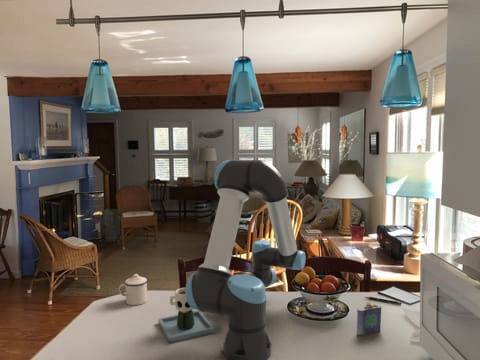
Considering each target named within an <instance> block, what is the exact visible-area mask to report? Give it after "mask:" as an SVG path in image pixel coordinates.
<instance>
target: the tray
mask: <svg viewBox="0 0 480 360" xmlns="http://www.w3.org/2000/svg"><path fill="white" fill-rule="evenodd" d="M193 316H194V323H195V324H194V326H193V327H191V328H187V329H186V326H183V329H182V328H179V327H177V318H178V314H176V315H169V316H164V317H160V318H158V324H159V327H160V329H161V330H162V332H163V334H164V337H166V339H167V341H168V343H169V344H171V343H176V342H180V341H185V340H189V339H193V338H199V337H204V336H207V335H210V334H212V335H213V334H215V333H216V331H215V330H216V329H215V327H214V325H213V324H212V323H211V322H210V320H208V318H207V317H206V316H205V315H204V313H203V312H201V311H199V310H196V311H193Z"/></svg>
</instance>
